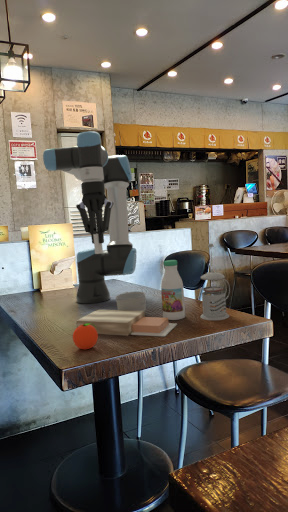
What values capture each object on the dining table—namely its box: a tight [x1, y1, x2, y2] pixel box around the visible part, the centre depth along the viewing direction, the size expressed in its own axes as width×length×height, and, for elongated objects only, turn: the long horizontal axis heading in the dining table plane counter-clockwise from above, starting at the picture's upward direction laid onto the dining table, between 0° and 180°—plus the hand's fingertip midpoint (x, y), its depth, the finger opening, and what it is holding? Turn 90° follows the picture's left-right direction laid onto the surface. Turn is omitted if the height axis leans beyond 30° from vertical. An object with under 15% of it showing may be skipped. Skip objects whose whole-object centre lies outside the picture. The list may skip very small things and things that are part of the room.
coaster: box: [132, 316, 170, 333], centre depth 117 cm, size 9×9×2 cm
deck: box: [75, 309, 146, 336], centre depth 122 cm, size 14×18×4 cm
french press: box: [199, 243, 231, 321], centre depth 126 cm, size 10×12×25 cm
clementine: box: [72, 323, 99, 350], centre depth 104 cm, size 8×7×7 cm
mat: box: [130, 322, 178, 337], centre depth 117 cm, size 12×11×1 cm
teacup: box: [115, 291, 147, 311], centre depth 137 cm, size 14×11×8 cm
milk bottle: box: [160, 259, 186, 321], centre depth 128 cm, size 8×8×20 cm
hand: (99, 253), depth 124 cm, fingers closed
